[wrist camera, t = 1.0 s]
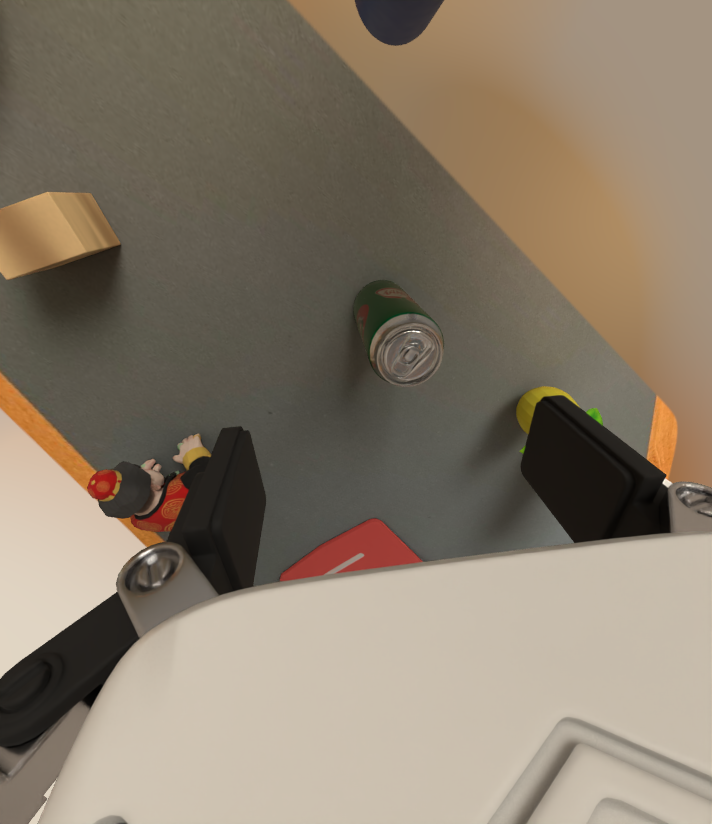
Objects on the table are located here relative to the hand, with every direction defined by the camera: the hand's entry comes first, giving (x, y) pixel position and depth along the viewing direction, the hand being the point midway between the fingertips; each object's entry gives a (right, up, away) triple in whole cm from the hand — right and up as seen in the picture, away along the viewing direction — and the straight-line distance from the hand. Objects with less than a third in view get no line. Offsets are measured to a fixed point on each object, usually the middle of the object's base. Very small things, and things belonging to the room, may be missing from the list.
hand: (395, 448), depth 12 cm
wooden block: (-23, +15, +16) cm, 32 cm away
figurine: (-20, -4, +28) cm, 34 cm away
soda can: (+1, +11, +21) cm, 24 cm away
